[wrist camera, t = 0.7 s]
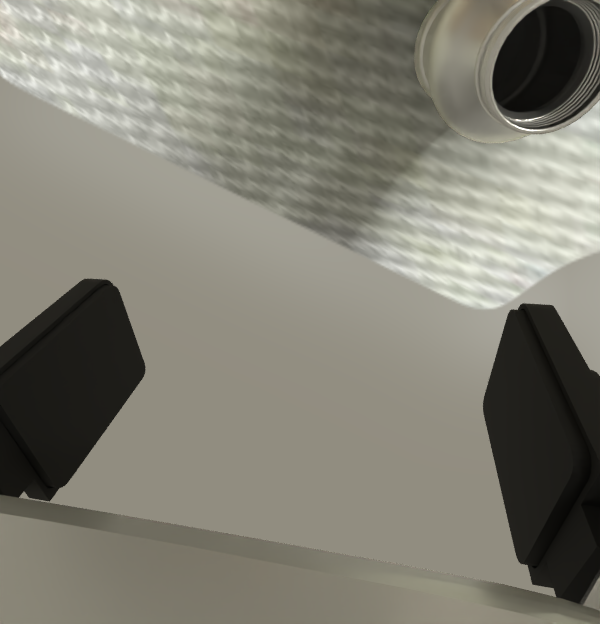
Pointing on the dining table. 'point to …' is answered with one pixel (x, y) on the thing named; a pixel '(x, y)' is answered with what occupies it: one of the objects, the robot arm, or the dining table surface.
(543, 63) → the plastic bottle
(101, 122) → the dining table surface
